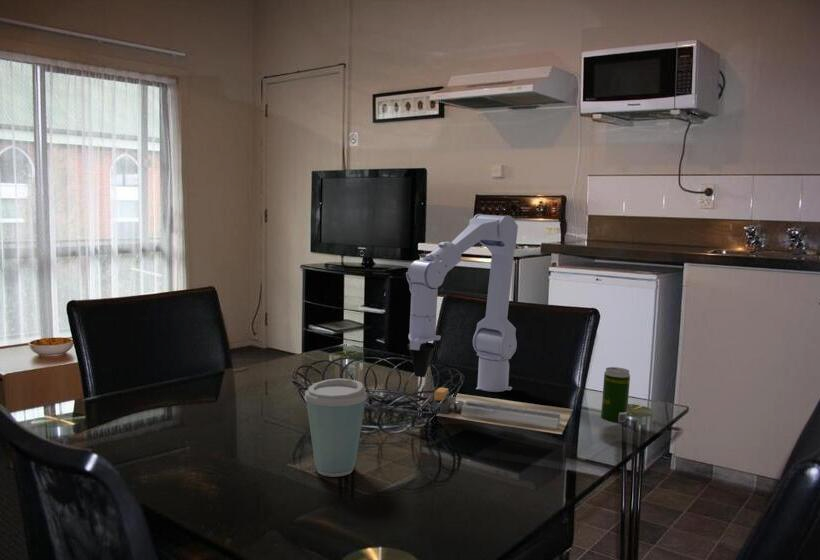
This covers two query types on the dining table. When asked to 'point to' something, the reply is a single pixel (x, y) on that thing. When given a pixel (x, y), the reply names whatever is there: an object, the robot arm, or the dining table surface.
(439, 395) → the block
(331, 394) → the disposable coffee cup
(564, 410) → the board
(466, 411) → the tongs frame
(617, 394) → the beer can
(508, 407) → the bar
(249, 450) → the dining table surface
